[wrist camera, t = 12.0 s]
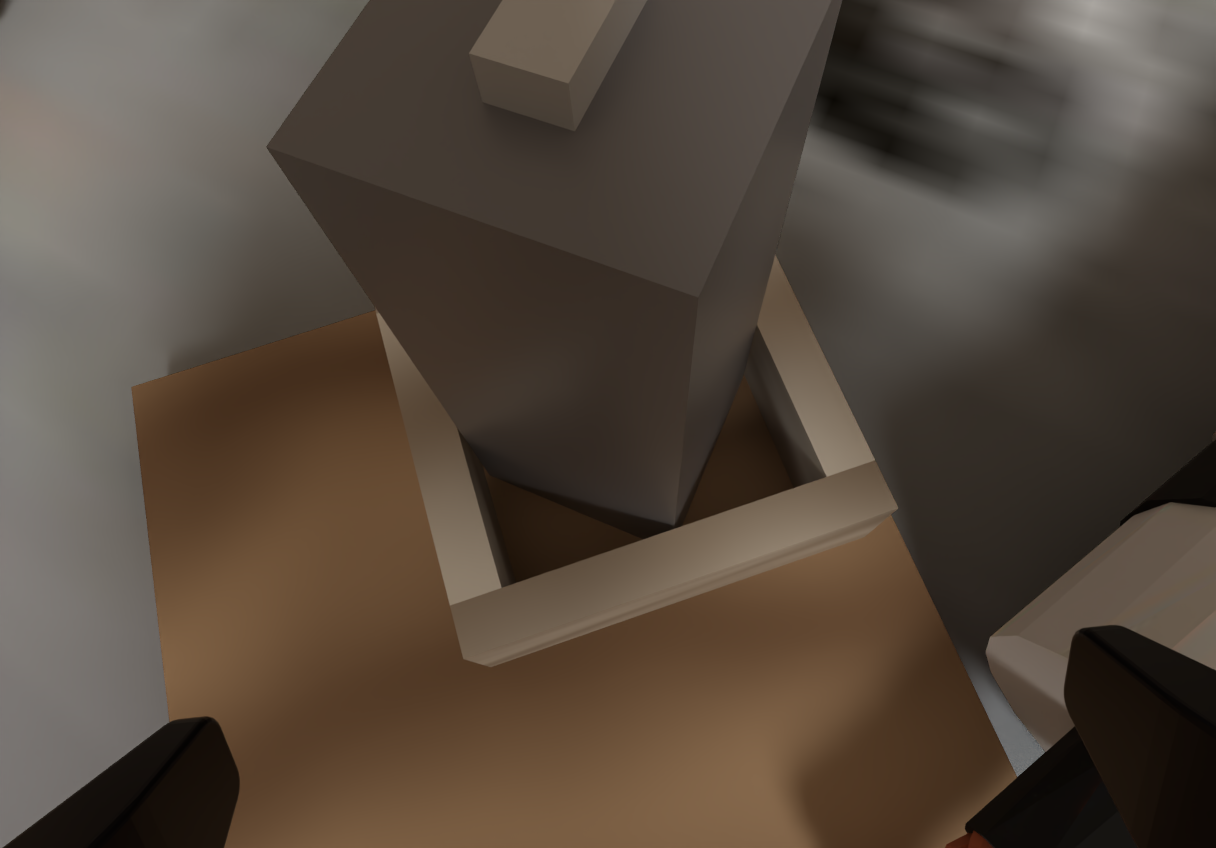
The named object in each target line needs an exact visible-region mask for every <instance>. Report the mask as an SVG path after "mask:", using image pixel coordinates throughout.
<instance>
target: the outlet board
mask: <svg viewBox="0 0 1216 848" xmlns="http://www.w3.org/2000/svg"><path fill="white" fill-rule="evenodd" d="M374 307H375V306H374ZM131 388H132V396H133V405H134V414H135V423H136V431H137V440H138V449H139V458H140V466H141V475H142V484H143V493H144V502H145V510H146V519H147V528H148V537H149V545H150V554H151V563H152V572H153V580H154V589H155V598H156V607H157V616H158V624H159V633H160V642H161V651H162V659H163V668H164V677H165V686H166V694H167V703H168V712H169V721H170V722H171V721H173V720H177V719H183V718H193V717H203V716H208V717H213V718H214V719H215V720H216V721H218V723H219V724H220V726H221V729H222V731H223V734H224V736H225V739H226V741H227V744H228V746H229V749H230V751H231V753H232V756H233V758H234V761H235V763H236V766H237V768H238V772H239V777H240V790H239V796H238V800H237V804H236V807H235V811H234V815H233V818H232V822H231V826H230V829H229V833H228V836H227V840H226V844H225V847H224V848H945V846H946V844H948V843H950V842H952V841H954V840H956V839H958V838H960V837H962V836H964V835H966V834H967V832H966V830H965V824H966V823H967V822H968V821H969V820H970V819H971V818H972V817H973V816H975V815H976V814H977V813H978V812H979V811H980V810H981V809H982V808H984V807H985V806H986V805H987V804H988V803H989V802H990V801H991V800H992V799H994V798H995V797H996V796H997V795H998V794H999V793H1000V792H1001V791H1003V790H1004V789H1005V788H1006V787H1007V786H1008V785H1009V784H1010V783H1012V782H1013V781H1014V780H1015V779H1016V778H1017V776H1016V774H1015V772H1014V770H1013V767H1012V765H1011V763H1010V761H1009V759H1008V757H1007V755H1006V753H1005V751H1004V749H1003V747H1002V745H1001V743H1000V740H999V738H998V736H997V734H996V732H995V730H994V728H993V726H992V724H991V722H990V720H989V718H988V715H987V713H986V711H985V709H984V707H983V705H982V703H981V701H980V699H979V697H978V695H977V693H976V690H975V688H974V686H973V684H972V682H971V680H970V678H969V676H968V674H967V672H966V670H965V668H964V665H963V663H962V661H961V659H960V657H959V655H958V653H957V651H956V649H955V647H954V645H953V643H952V641H951V638H950V636H949V634H948V632H947V630H946V628H945V626H944V624H943V622H942V620H941V618H940V616H939V613H938V611H937V609H936V607H935V605H934V603H933V601H932V599H931V597H930V595H929V593H928V591H927V588H926V586H925V584H924V582H923V580H922V578H921V576H920V574H919V572H918V570H917V568H916V566H915V563H914V561H913V559H912V557H911V555H910V553H909V551H908V549H907V547H906V545H905V543H904V541H903V539H902V536H901V534H900V532H899V530H898V528H897V526H896V524H895V522H894V520H893V518H892V516H891V514H892V513H893V512H895V511H896V510H897V509H898V506H897V504H896V502H895V500H894V498H893V496H892V494H891V492H890V490H889V488H888V486H887V483H886V481H885V479H884V477H883V475H882V473H881V471H880V469H879V467H878V465H877V463H876V461H875V459H874V457H873V455H872V453H871V451H870V448H869V446H868V444H867V442H866V440H865V438H864V436H863V434H862V432H861V430H860V428H859V426H858V424H857V422H856V420H855V418H854V416H853V413H852V411H851V409H850V407H849V405H848V403H847V401H846V399H845V397H844V395H843V393H842V391H841V389H840V387H839V385H838V383H837V381H836V378H835V376H834V374H833V372H832V370H831V368H830V366H829V364H828V362H827V360H826V358H825V356H824V354H823V352H822V350H821V348H820V346H819V343H818V341H817V339H816V337H815V335H814V333H813V331H812V329H811V327H810V325H809V323H808V321H807V319H806V317H805V315H804V313H803V311H802V308H801V306H800V304H799V302H798V300H797V298H796V296H795V294H794V292H793V290H792V288H791V286H790V284H789V282H788V280H787V278H786V276H785V273H784V271H783V269H782V267H781V265H780V263H779V261H778V259H777V257H776V255H775V257H774V261H773V265H772V269H771V273H770V276H769V280H768V284H767V288H766V292H765V295H764V299H763V303H762V307H761V311H760V314H759V318H758V322H757V326H756V330H755V333H754V337H753V341H752V345H751V349H750V353H749V356H748V360H747V364H746V368H745V372H744V375H743V379H742V381H741V383H740V386H739V388H738V391H737V393H736V396H735V398H734V400H733V403H732V405H731V408H730V410H729V413H728V415H727V417H726V420H725V422H724V425H723V427H722V430H721V432H720V435H719V437H718V439H717V442H716V444H715V447H714V449H713V452H712V454H711V456H710V459H709V461H708V464H707V466H706V469H705V471H704V473H703V476H702V478H701V481H700V483H699V486H698V488H697V491H696V493H695V495H694V498H693V500H692V503H691V505H690V508H689V510H688V512H687V515H686V517H685V520H684V522H683V525H682V526H681V527H678V528H676V529H673V530H670V531H667V532H664V533H661V534H658V535H655V536H652V537H649V538H646V539H641V538H639V537H636V536H634V535H632V534H629V533H627V532H624V531H622V530H620V529H617V528H615V527H612V526H610V525H608V524H605V523H603V522H600V521H598V520H596V519H593V518H591V517H588V516H586V515H584V514H581V513H579V512H576V511H574V510H572V509H569V508H567V507H564V506H562V505H560V504H557V503H555V502H553V501H550V500H548V499H545V498H543V497H541V496H538V495H536V494H533V493H531V492H529V491H526V490H524V489H521V488H519V487H517V486H514V485H512V484H509V483H507V482H505V481H502V480H500V479H497V478H495V477H493V476H490V475H489V474H488V472H487V471H486V469H485V468H484V466H483V465H482V463H481V462H480V460H479V459H478V457H477V456H476V454H475V453H474V452H473V450H472V449H471V447H470V446H469V444H468V443H467V441H466V440H465V438H464V437H463V435H462V434H461V432H460V431H459V429H458V428H457V427H456V425H455V424H454V422H453V421H452V419H451V418H450V416H449V415H448V413H447V412H446V410H445V409H444V407H443V406H442V405H441V403H440V402H439V400H438V399H437V397H436V396H435V394H434V393H433V391H432V390H431V388H430V387H429V385H428V384H427V382H426V381H425V380H424V378H423V377H422V375H421V374H420V372H419V371H418V369H417V368H416V366H415V365H414V363H413V362H412V360H411V359H410V357H409V356H408V355H407V353H406V352H405V350H404V349H403V347H402V346H401V344H400V343H399V341H398V340H397V338H396V337H395V335H394V334H393V333H392V331H391V330H390V328H389V327H388V325H387V324H386V322H385V321H384V319H383V318H382V316H381V315H380V313H379V312H378V310H377V309H376V308H375V310H374V311H371V312H368V313H365V314H362V315H358V316H355V317H352V318H349V319H346V320H343V321H339V322H336V323H333V324H330V325H327V326H324V327H320V328H317V329H314V330H311V331H308V332H305V333H301V334H298V335H295V336H292V337H289V338H285V339H282V340H279V341H276V342H273V343H270V344H266V345H263V346H260V347H257V348H254V349H251V350H247V351H244V352H241V353H238V354H235V355H232V356H228V357H225V358H222V359H219V360H216V361H212V362H209V363H206V364H203V365H200V366H197V367H193V368H190V369H187V370H184V371H181V372H178V373H174V374H171V375H168V376H165V377H162V378H159V379H155V380H152V381H149V382H146V383H143V384H139V385H136V386H133V387H131Z"/></svg>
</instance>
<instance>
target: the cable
mask: <svg viewBox="0 0 1216 848" xmlns="http://www.w3.org/2000/svg"><path fill="white" fill-rule="evenodd" d="M1105 625H1120V626H1123V627H1126V628H1128V629H1130V630H1132V631H1134V632H1136V633H1139V634H1141V635H1143V636H1145V637H1147V638H1149V639H1151V640H1153V641H1155V642H1158V643H1160V644H1162V645H1164V646H1166V647H1168V648H1170V649H1172V650H1174V651H1177V652H1179V653H1181V654H1183V655H1185V656H1187V657H1189V658H1191V659H1193V660H1195V661H1198V662H1200V663H1202V664H1204V665H1206V666H1208V667H1210V668H1212V669H1214V670H1216V432H1214V433H1213V438H1212V443H1211V444H1210V445H1209V446H1207V447H1206V448H1205V449H1204V450H1203V451H1202V452H1200V453H1199V454H1198V455H1197V456H1196V457H1195V458H1193V459H1192V460H1191V461H1190V462H1189V463H1188V464H1187V465H1185V466H1184V467H1183V468H1182V469H1181V470H1180V471H1178V472H1177V473H1176V474H1175V475H1174V476H1173V477H1171V478H1170V479H1169V480H1168V481H1167V482H1166V483H1164V484H1163V485H1162V486H1161V487H1160V488H1159V489H1158V490H1156V491H1155V492H1154V493H1153V494H1152V495H1151V496H1149V497H1148V498H1147V499H1146V500H1145V501H1144V502H1142V503H1141V504H1140V505H1139V506H1138V507H1137V508H1135V509H1134V510H1133V511H1132V512H1131V513H1130V514H1128V515H1127V516H1126V517H1125V518H1124V519H1123V520H1122V521H1121V523H1120V527H1119V528H1118V529H1117V530H1116V531H1115V532H1114V533H1112V534H1111V535H1110V536H1109V537H1108V538H1106V539H1105V540H1104V541H1103V542H1102V543H1101V544H1099V545H1098V546H1097V547H1096V548H1095V549H1093V550H1092V551H1091V552H1090V553H1089V554H1088V555H1086V556H1085V557H1084V558H1083V559H1082V560H1080V561H1079V562H1078V563H1077V564H1076V565H1075V566H1073V567H1072V568H1071V569H1070V570H1069V571H1067V572H1066V573H1065V574H1064V575H1063V576H1062V577H1060V578H1059V579H1058V580H1057V581H1056V582H1054V583H1053V584H1052V585H1051V586H1050V587H1048V588H1047V589H1046V590H1045V591H1044V592H1043V593H1041V594H1040V595H1039V596H1038V597H1037V598H1035V599H1034V600H1033V601H1032V602H1031V603H1030V604H1028V605H1027V606H1026V607H1025V608H1024V609H1022V610H1021V611H1020V612H1019V613H1018V614H1017V615H1015V616H1014V617H1013V618H1012V619H1011V620H1009V621H1008V622H1007V623H1006V624H1005V625H1004V626H1002V627H1001V628H1000V629H999V630H998V631H996V632H995V633H994V634H993V635H992V636H991V637H990V639H989V642H988V646H987V649H986V656H987V659H988V663H989V667H990V671H991V673H992V675H993V677H994V679H995V680H996V682H997V684H998V685H999V687H1000V689H1001V690H1002V692H1003V694H1004V696H1005V697H1006V699H1007V701H1008V702H1009V704H1010V706H1011V707H1012V709H1013V711H1014V713H1015V714H1016V715H1017V716H1018V718H1019V719H1020V720H1021V721H1022V723H1023V724H1024V725H1025V727H1026V728H1027V729H1028V730H1029V732H1030V733H1031V734H1032V736H1033V737H1034V738H1035V739H1036V741H1037V742H1038V743H1039V744H1040V746H1041V747H1042V748H1043V750H1044V751H1045V753H1044V754H1043V755H1042V756H1041V757H1040V758H1038V759H1037V760H1036V761H1035V762H1034V763H1033V764H1032V765H1031V766H1030V767H1028V768H1027V769H1026V770H1025V771H1024V772H1023V773H1022V774H1021V775H1019V776H1018V777H1017V778H1016V779H1015V780H1014V781H1013V782H1012V783H1010V784H1009V785H1008V786H1007V787H1006V788H1005V789H1004V790H1003V791H1001V792H1000V793H999V794H998V795H997V796H996V797H995V798H994V799H992V800H991V801H990V802H989V803H988V804H987V805H986V806H985V807H984V808H982V809H981V810H980V811H979V812H978V813H977V814H976V815H975V816H973V817H972V818H971V819H970V820H969V821H968V822H967V823H966V824H965V830H966V832H967V834H966V835H964V836H962V837H960V838H958V839H956V840H954V841H952V842H950V843H948V844H946V846H945V848H1138V847H1137V845H1136V844H1135V842H1134V840H1133V838H1132V836H1131V834H1130V833H1129V831H1128V829H1127V827H1126V825H1125V823H1124V821H1123V819H1122V817H1121V815H1120V813H1119V811H1118V809H1117V807H1116V805H1115V803H1114V801H1113V799H1112V797H1111V796H1110V794H1109V792H1108V790H1107V788H1106V786H1105V784H1104V782H1103V780H1102V778H1101V776H1100V774H1099V772H1098V770H1097V768H1096V766H1095V764H1094V762H1093V761H1092V759H1091V757H1090V755H1089V753H1088V751H1087V749H1086V747H1085V745H1084V743H1083V741H1082V739H1081V737H1080V735H1079V733H1078V731H1077V729H1076V727H1075V725H1074V724H1073V722H1072V720H1071V718H1070V716H1069V713H1068V711H1067V708H1066V705H1065V701H1064V682H1065V676H1066V670H1067V664H1068V658H1069V652H1070V646H1071V641H1072V637H1073V635H1074V634H1075V632H1076V631H1077V630H1079V629H1081V628H1085V627H1095V626H1105Z"/></svg>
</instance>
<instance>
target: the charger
mask: <svg viewBox="0 0 1216 848" xmlns="http://www.w3.org/2000/svg"><path fill="white" fill-rule="evenodd" d="M841 2H842V0H370V1H369V2H368V3H367V5H366V6H365V8H364V9H363V11H362V12H361V13H360V15H359V16H358V18H357V19H356V20H355V22H354V23H353V25H352V26H351V28H350V29H349V30H348V32H347V33H346V35H345V36H344V37H343V39H342V40H341V42H340V43H339V45H338V46H337V47H336V49H335V50H334V52H333V53H332V54H331V56H330V57H329V59H328V60H327V62H326V63H325V64H324V66H323V67H322V69H321V70H320V71H319V73H318V74H317V76H316V77H315V79H314V80H313V81H312V83H311V84H310V86H309V87H308V88H307V90H306V91H305V93H304V94H303V96H302V97H301V98H300V100H299V101H298V103H297V104H296V105H295V107H294V108H293V110H292V111H291V113H290V114H289V115H288V117H287V118H286V120H285V121H284V122H283V124H282V125H281V127H280V128H279V130H278V131H277V132H276V134H275V135H274V137H273V138H272V139H271V141H270V142H269V144H268V145H267V149H268V150H269V152H270V153H271V155H272V156H273V158H274V159H275V161H276V162H277V164H278V165H279V167H280V168H281V169H282V171H283V172H284V174H285V175H286V177H287V178H288V180H289V181H290V183H291V184H292V186H293V187H294V189H295V190H296V191H297V193H298V194H299V196H300V197H301V199H302V200H303V202H304V203H305V205H306V206H307V208H308V209H309V211H310V212H311V214H312V215H313V216H314V218H315V219H316V221H317V222H318V224H319V225H320V227H321V228H322V230H323V231H324V233H325V234H326V236H327V237H328V238H329V240H330V241H331V243H332V244H333V246H334V247H335V249H336V250H337V252H338V253H339V255H340V256H341V258H342V259H343V261H344V262H345V263H346V265H347V266H348V268H349V269H350V271H351V272H352V274H353V275H354V277H355V278H356V280H357V281H358V283H359V284H360V286H361V287H362V288H363V290H364V291H365V293H366V294H367V296H368V297H369V299H370V300H371V302H372V303H373V305H374V306H375V308H376V309H377V310H378V312H379V313H380V315H381V316H382V318H383V319H384V321H385V322H386V324H387V325H388V327H389V328H390V330H391V331H392V333H393V334H394V335H395V337H396V338H397V340H398V341H399V343H400V344H401V346H402V347H403V349H404V350H405V352H406V353H407V355H408V356H409V357H410V359H411V360H412V362H413V363H414V365H415V366H416V368H417V369H418V371H419V372H420V374H421V375H422V377H423V378H424V380H425V381H426V382H427V384H428V385H429V387H430V388H431V390H432V391H433V393H434V394H435V396H436V397H437V399H438V400H439V402H440V403H441V405H442V406H443V407H444V409H445V410H446V412H447V413H448V415H449V416H450V418H451V419H452V421H453V422H454V424H455V425H456V427H457V428H458V429H459V431H460V432H461V434H462V435H463V437H464V438H465V440H466V441H467V443H468V444H469V446H470V447H471V449H472V450H473V452H474V453H475V454H476V456H477V457H478V459H479V460H480V462H481V463H482V465H483V466H484V468H485V469H486V471H487V472H488V474H489V475H490V476H493V477H495V478H497V479H500V480H502V481H505V482H507V483H509V484H512V485H514V486H517V487H519V488H521V489H524V490H526V491H529V492H531V493H533V494H536V495H538V496H541V497H543V498H545V499H548V500H550V501H553V502H555V503H557V504H560V505H562V506H564V507H567V508H569V509H572V510H574V511H576V512H579V513H581V514H584V515H586V516H588V517H591V518H593V519H596V520H598V521H600V522H603V523H605V524H608V525H610V526H612V527H615V528H617V529H620V530H622V531H624V532H627V533H629V534H632V535H634V536H636V537H639V538H641V539H646V538H649V537H652V536H655V535H658V534H661V533H664V532H667V531H670V530H673V529H676V528H678V527H681V526H682V525H683V522H684V520H685V517H686V515H687V512H688V510H689V508H690V505H691V503H692V500H693V498H694V495H695V493H696V491H697V488H698V486H699V483H700V481H701V478H702V476H703V473H704V471H705V469H706V466H707V464H708V461H709V459H710V456H711V454H712V452H713V449H714V447H715V444H716V442H717V439H718V437H719V435H720V432H721V430H722V427H723V425H724V422H725V420H726V417H727V415H728V413H729V410H730V408H731V405H732V403H733V400H734V398H735V396H736V393H737V391H738V388H739V386H740V383H741V381H742V379H743V375H744V372H745V368H746V364H747V360H748V356H749V353H750V349H751V345H752V341H753V337H754V333H755V330H756V326H757V322H758V318H759V314H760V311H761V307H762V303H763V299H764V295H765V292H766V288H767V284H768V280H769V276H770V273H771V269H772V265H773V261H774V257H775V253H776V250H777V246H778V242H779V238H780V234H781V231H782V227H783V223H784V219H785V215H786V212H787V208H788V204H789V200H790V196H791V193H792V189H793V185H794V181H795V177H796V173H797V170H798V166H799V162H800V158H801V154H802V151H803V147H804V143H805V139H806V135H807V132H808V128H809V124H810V120H811V116H812V113H813V109H814V105H815V101H816V97H817V93H818V90H819V86H820V82H821V78H822V74H823V71H824V67H825V63H826V59H827V55H828V52H829V48H830V44H831V40H832V36H833V33H834V29H835V25H836V21H837V17H838V13H839V10H840V6H841Z"/></svg>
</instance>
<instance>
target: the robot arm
mask: <svg viewBox="0 0 1216 848" xmlns="http://www.w3.org/2000/svg"><path fill="white" fill-rule="evenodd" d="M1064 701H1065V705H1066V708H1067V711H1068V713H1069V716H1070V718H1071V720H1072V722H1073V724H1074V725H1075V727H1076V729H1077V731H1078V733H1079V735H1080V737H1081V739H1082V741H1083V743H1084V745H1085V747H1086V749H1087V751H1088V753H1089V755H1090V757H1091V759H1092V761H1093V762H1094V764H1095V766H1096V768H1097V770H1098V772H1099V774H1100V776H1101V778H1102V780H1103V782H1104V784H1105V786H1106V788H1107V790H1108V792H1109V794H1110V796H1111V797H1112V799H1113V801H1114V803H1115V805H1116V807H1117V809H1118V811H1119V813H1120V815H1121V817H1122V819H1123V821H1124V823H1125V825H1126V827H1127V829H1128V831H1129V833H1130V834H1131V836H1132V838H1133V840H1134V842H1135V844H1136V845H1137V847H1138V848H1216V670H1214V669H1212V668H1210V667H1208V666H1206V665H1204V664H1202V663H1200V662H1198V661H1195V660H1193V659H1191V658H1189V657H1187V656H1185V655H1183V654H1181V653H1179V652H1177V651H1174V650H1172V649H1170V648H1168V647H1166V646H1164V645H1162V644H1160V643H1158V642H1155V641H1153V640H1151V639H1149V638H1147V637H1145V636H1143V635H1141V634H1139V633H1136V632H1134V631H1132V630H1130V629H1128V628H1126V627H1123V626H1120V625H1105V626H1095V627H1085V628H1081V629H1079V630H1077V631H1076V632H1075V634H1074V635H1073V637H1072V641H1071V646H1070V652H1069V658H1068V664H1067V670H1066V676H1065V682H1064ZM239 790H240V777H239V772H238V768H237V766H236V763H235V761H234V758H233V756H232V753H231V751H230V749H229V746H228V744H227V741H226V739H225V736H224V734H223V731H222V729H221V726H220V724H219V723H218V721H216V720H215V719H214V718H213V717H208V716H203V717H193V718H183V719H177V720H173V721H171V722H169V723H167V724H166V725H165V726H163V727H162V728H161V729H159V730H158V731H157V732H155V733H154V734H153V735H151V736H150V737H149V738H147V739H146V740H145V741H143V742H142V743H141V744H139V745H138V746H137V747H135V748H134V749H133V750H131V751H130V752H129V753H127V754H126V755H125V756H123V757H122V758H121V759H119V760H118V761H117V762H116V763H114V764H113V765H112V766H110V767H109V768H108V769H106V770H105V771H104V772H102V773H101V774H100V775H98V776H97V777H96V778H94V779H93V780H92V781H90V782H89V783H88V784H86V785H85V786H84V787H82V788H81V789H80V790H78V791H77V792H76V793H74V794H73V795H72V796H70V797H69V798H68V799H66V800H65V801H64V802H62V803H61V804H60V805H59V806H57V807H56V808H55V809H53V810H52V811H51V812H49V813H48V814H47V815H45V816H44V817H43V818H41V819H40V820H39V821H37V822H36V823H35V824H33V825H32V826H31V827H29V828H28V829H27V830H25V831H24V832H23V833H21V834H20V835H19V836H17V837H16V838H15V839H13V840H12V841H11V842H9V843H8V844H7V845H5V846H4V847H3V848H224V847H225V844H226V840H227V836H228V833H229V829H230V826H231V822H232V818H233V815H234V811H235V807H236V804H237V800H238V796H239Z"/></svg>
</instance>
